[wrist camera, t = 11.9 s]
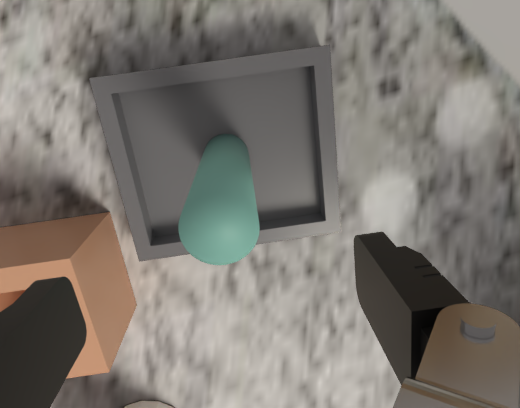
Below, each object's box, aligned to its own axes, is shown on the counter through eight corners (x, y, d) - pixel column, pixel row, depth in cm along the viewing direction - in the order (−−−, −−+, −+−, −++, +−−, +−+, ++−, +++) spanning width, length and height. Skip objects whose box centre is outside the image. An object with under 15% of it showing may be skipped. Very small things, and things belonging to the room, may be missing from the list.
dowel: (245, 130, 25) (253, 185, 14) (251, 174, 26) (264, 259, 15) (200, 137, 25) (170, 197, 14) (208, 180, 26) (186, 270, 15)
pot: (109, 211, 27) (69, 258, 21) (136, 305, 30) (109, 372, 23) (-2, 227, 27) (-78, 279, 21) (36, 319, 30) (-21, 391, 23)
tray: (320, 46, 24) (329, 44, 22) (332, 218, 28) (341, 232, 26) (103, 76, 24) (89, 78, 22) (147, 245, 28) (139, 261, 26)
